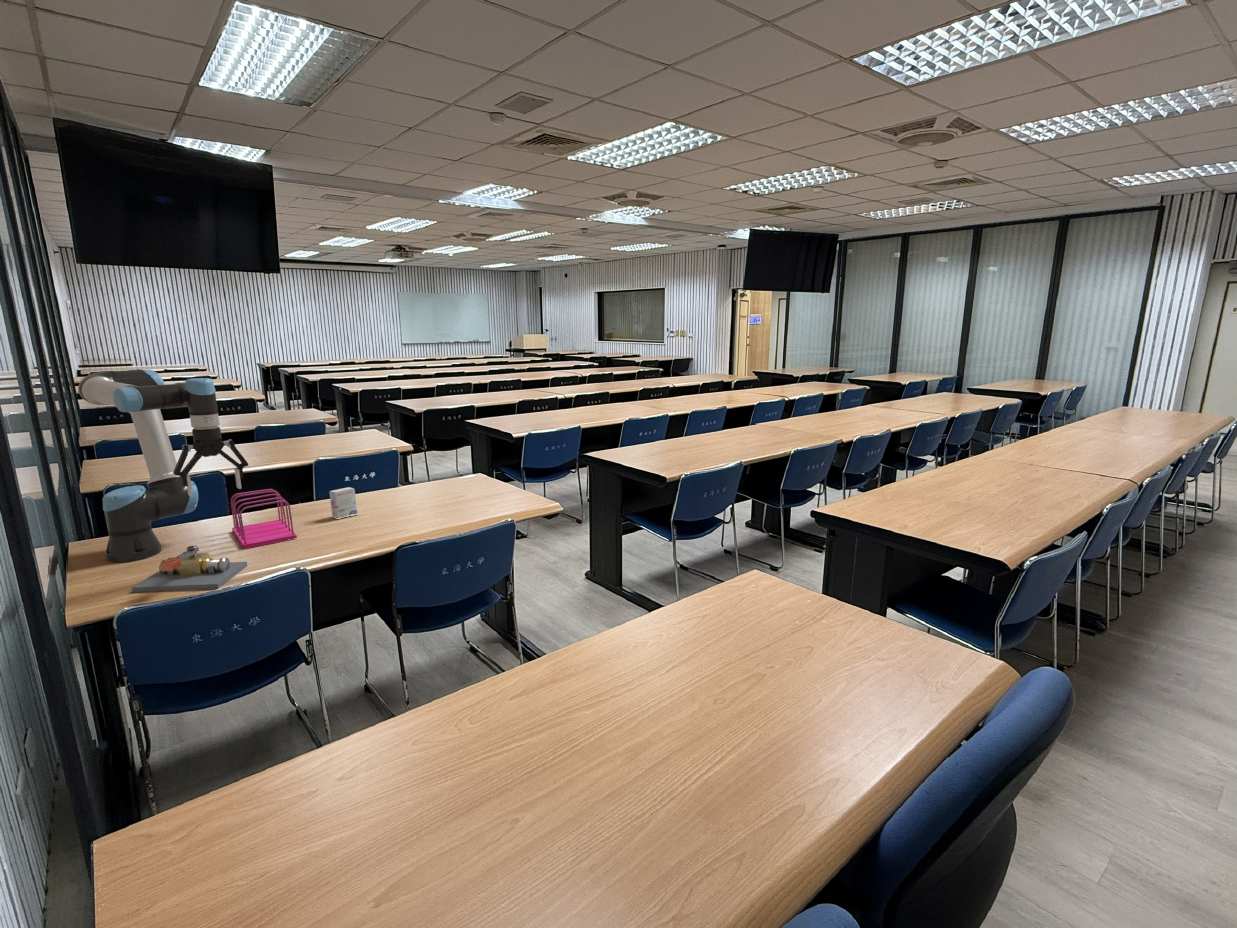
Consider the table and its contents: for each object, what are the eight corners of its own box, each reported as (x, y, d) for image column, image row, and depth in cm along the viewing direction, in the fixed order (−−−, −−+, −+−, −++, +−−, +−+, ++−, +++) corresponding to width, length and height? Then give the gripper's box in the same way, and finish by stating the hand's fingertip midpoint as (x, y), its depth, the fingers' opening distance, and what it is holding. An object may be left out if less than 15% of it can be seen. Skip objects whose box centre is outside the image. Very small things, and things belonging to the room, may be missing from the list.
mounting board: (132, 592, 180) (131, 587, 179) (169, 568, 197) (169, 564, 197) (218, 588, 182) (217, 583, 182) (247, 565, 200) (246, 561, 199)
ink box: (351, 513, 257) (349, 486, 255) (357, 515, 254) (355, 488, 252) (331, 517, 251) (329, 490, 248) (337, 520, 248) (334, 492, 245)
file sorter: (243, 549, 215) (237, 507, 211) (232, 532, 233) (226, 493, 230) (297, 539, 226) (292, 498, 222) (282, 523, 244) (277, 485, 241)
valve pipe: (159, 578, 187) (156, 561, 186) (171, 570, 193) (168, 554, 192) (222, 575, 189) (219, 558, 188) (231, 568, 195) (229, 552, 194)
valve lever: (191, 554, 191) (189, 545, 191) (201, 553, 192) (199, 545, 191) (162, 572, 177) (160, 562, 176) (172, 571, 177) (171, 562, 177)
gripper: (159, 433, 181) (171, 501, 185) (253, 424, 198) (261, 487, 202) (155, 430, 186) (166, 496, 190) (247, 422, 203) (255, 482, 208)
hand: (215, 491), depth 196 cm, fingers open, 13 cm apart
